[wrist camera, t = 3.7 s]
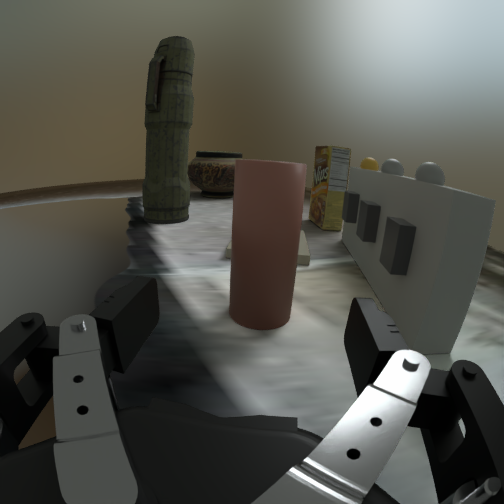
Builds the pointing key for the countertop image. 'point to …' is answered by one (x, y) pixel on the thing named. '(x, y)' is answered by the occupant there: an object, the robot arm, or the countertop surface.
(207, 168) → the ceramic bowl
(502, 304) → the countertop surface
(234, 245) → the pink cylinder
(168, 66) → the thermos
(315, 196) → the candy box
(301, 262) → the pad
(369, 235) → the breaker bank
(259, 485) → the robot arm
